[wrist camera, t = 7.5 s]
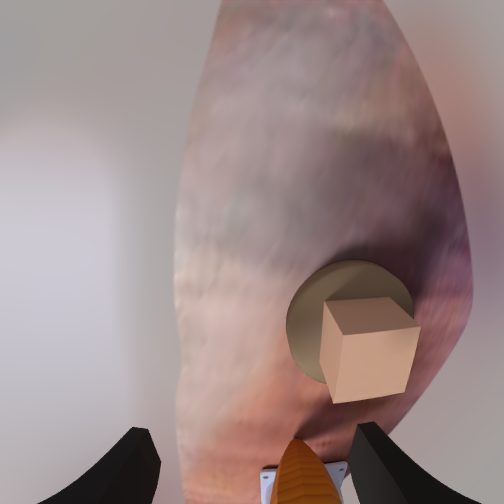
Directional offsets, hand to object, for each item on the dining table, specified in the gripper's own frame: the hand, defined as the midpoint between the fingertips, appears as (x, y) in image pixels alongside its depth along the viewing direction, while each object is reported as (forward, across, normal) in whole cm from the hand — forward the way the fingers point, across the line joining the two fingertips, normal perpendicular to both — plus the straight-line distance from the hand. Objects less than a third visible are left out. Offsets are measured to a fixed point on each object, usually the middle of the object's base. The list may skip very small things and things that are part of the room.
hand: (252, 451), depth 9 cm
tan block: (+8, -6, 0) cm, 10 cm away
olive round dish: (+10, -6, 0) cm, 12 cm away
